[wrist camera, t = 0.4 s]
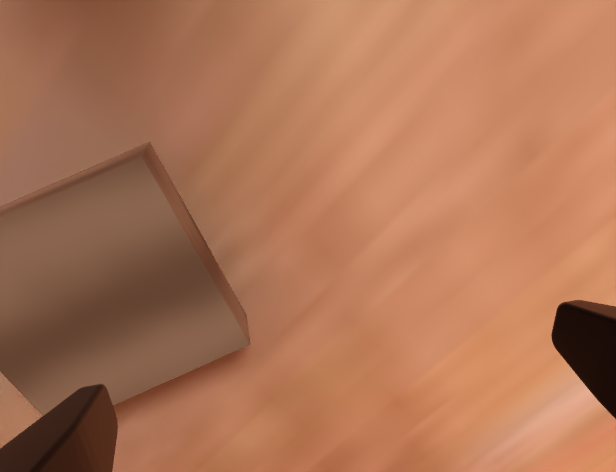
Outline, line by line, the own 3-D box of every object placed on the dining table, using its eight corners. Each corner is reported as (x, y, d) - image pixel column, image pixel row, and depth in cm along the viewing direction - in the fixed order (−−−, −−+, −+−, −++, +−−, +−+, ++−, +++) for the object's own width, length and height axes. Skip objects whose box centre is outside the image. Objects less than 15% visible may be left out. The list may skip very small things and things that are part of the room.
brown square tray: (-61, 232, 20) (-102, 263, 17) (150, 139, 20) (142, 157, 18) (73, 386, 25) (57, 430, 22) (245, 309, 25) (250, 344, 22)
